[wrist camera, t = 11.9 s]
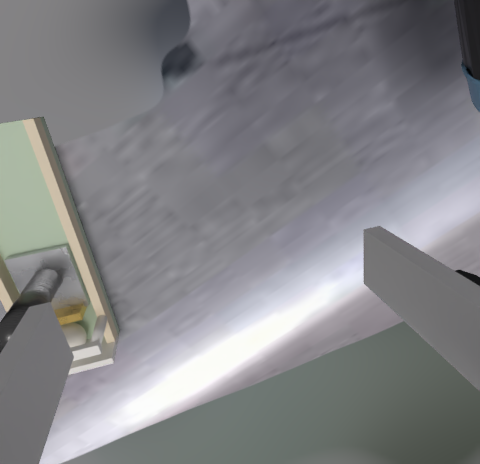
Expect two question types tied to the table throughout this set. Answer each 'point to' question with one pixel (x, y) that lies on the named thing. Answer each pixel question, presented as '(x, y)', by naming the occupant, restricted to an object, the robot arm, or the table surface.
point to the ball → (74, 334)
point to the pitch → (49, 230)
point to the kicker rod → (45, 287)
